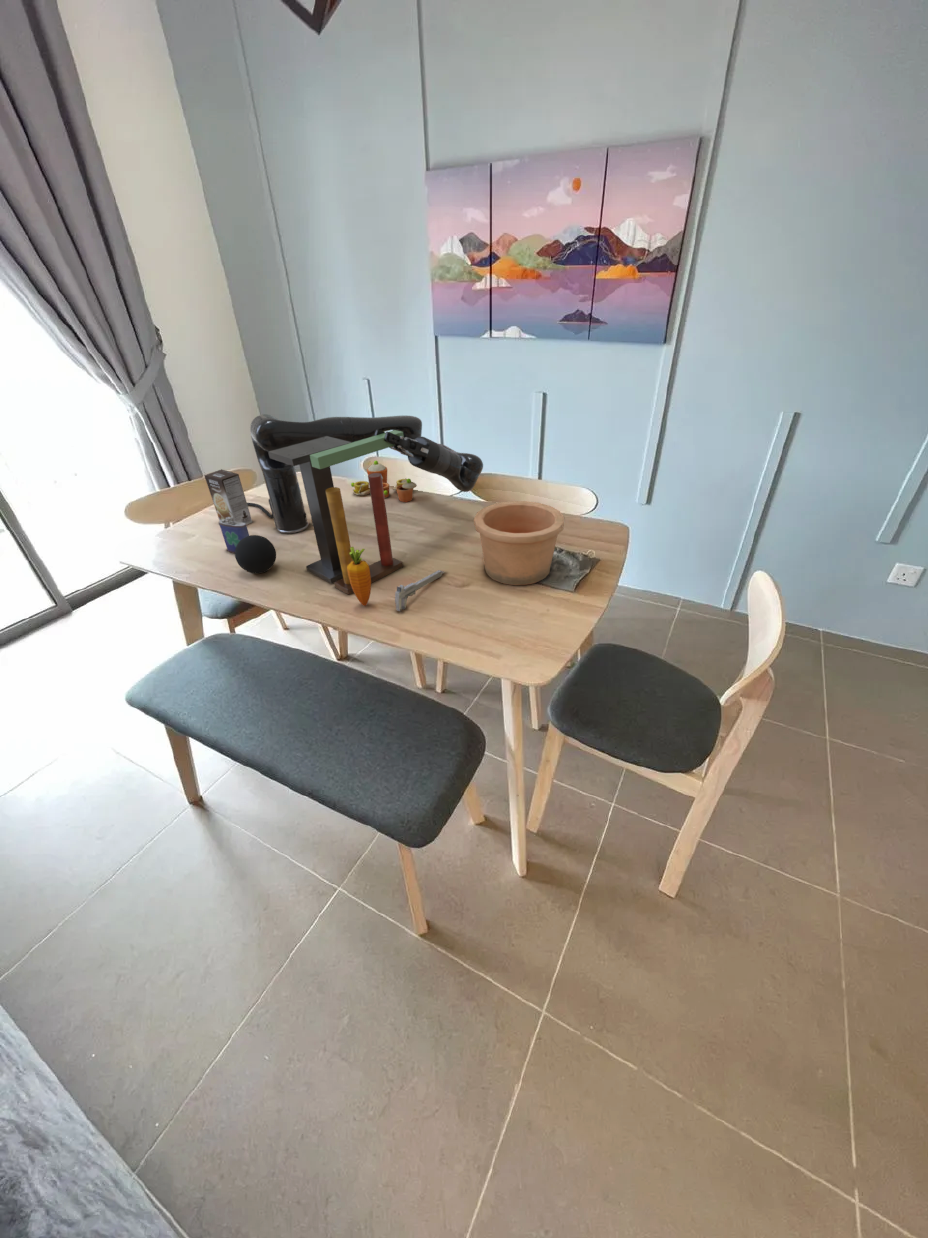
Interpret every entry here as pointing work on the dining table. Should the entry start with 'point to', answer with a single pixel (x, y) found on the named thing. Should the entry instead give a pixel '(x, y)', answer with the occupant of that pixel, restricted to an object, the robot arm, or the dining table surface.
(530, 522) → the pottery
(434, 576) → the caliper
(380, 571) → the rod rack
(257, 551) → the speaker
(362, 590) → the carrot
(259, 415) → the robot arm
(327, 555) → the stand
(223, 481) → the coffee box
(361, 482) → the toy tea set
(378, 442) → the bar
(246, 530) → the blue clover container
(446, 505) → the dining table surface
